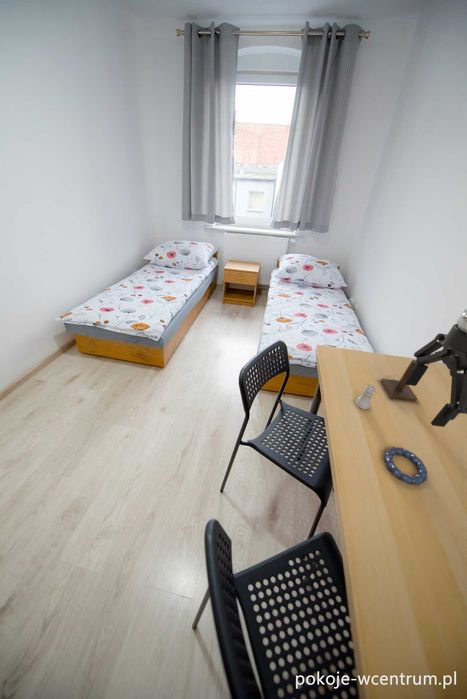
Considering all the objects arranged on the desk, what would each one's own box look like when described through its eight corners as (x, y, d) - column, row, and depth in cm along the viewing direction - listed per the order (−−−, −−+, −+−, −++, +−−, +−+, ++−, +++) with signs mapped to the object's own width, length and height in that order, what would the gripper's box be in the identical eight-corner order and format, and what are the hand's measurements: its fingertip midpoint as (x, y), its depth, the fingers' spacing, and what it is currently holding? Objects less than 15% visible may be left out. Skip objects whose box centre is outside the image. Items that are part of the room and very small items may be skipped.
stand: (403, 384, 104) (422, 355, 96) (415, 401, 96) (436, 372, 88) (380, 381, 103) (396, 352, 96) (390, 398, 96) (408, 369, 88)
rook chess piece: (352, 403, 92) (361, 385, 88) (359, 398, 95) (368, 380, 90) (364, 411, 90) (374, 394, 85) (371, 406, 92) (381, 388, 87)
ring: (413, 452, 79) (416, 448, 78) (432, 488, 70) (436, 484, 69) (377, 448, 78) (380, 443, 77) (392, 483, 70) (395, 479, 69)
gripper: (426, 301, 66) (388, 369, 79) (501, 367, 46) (434, 444, 58) (457, 305, 66) (414, 372, 79) (545, 372, 46) (468, 448, 59)
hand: (422, 403), depth 69 cm, fingers open, 13 cm apart
